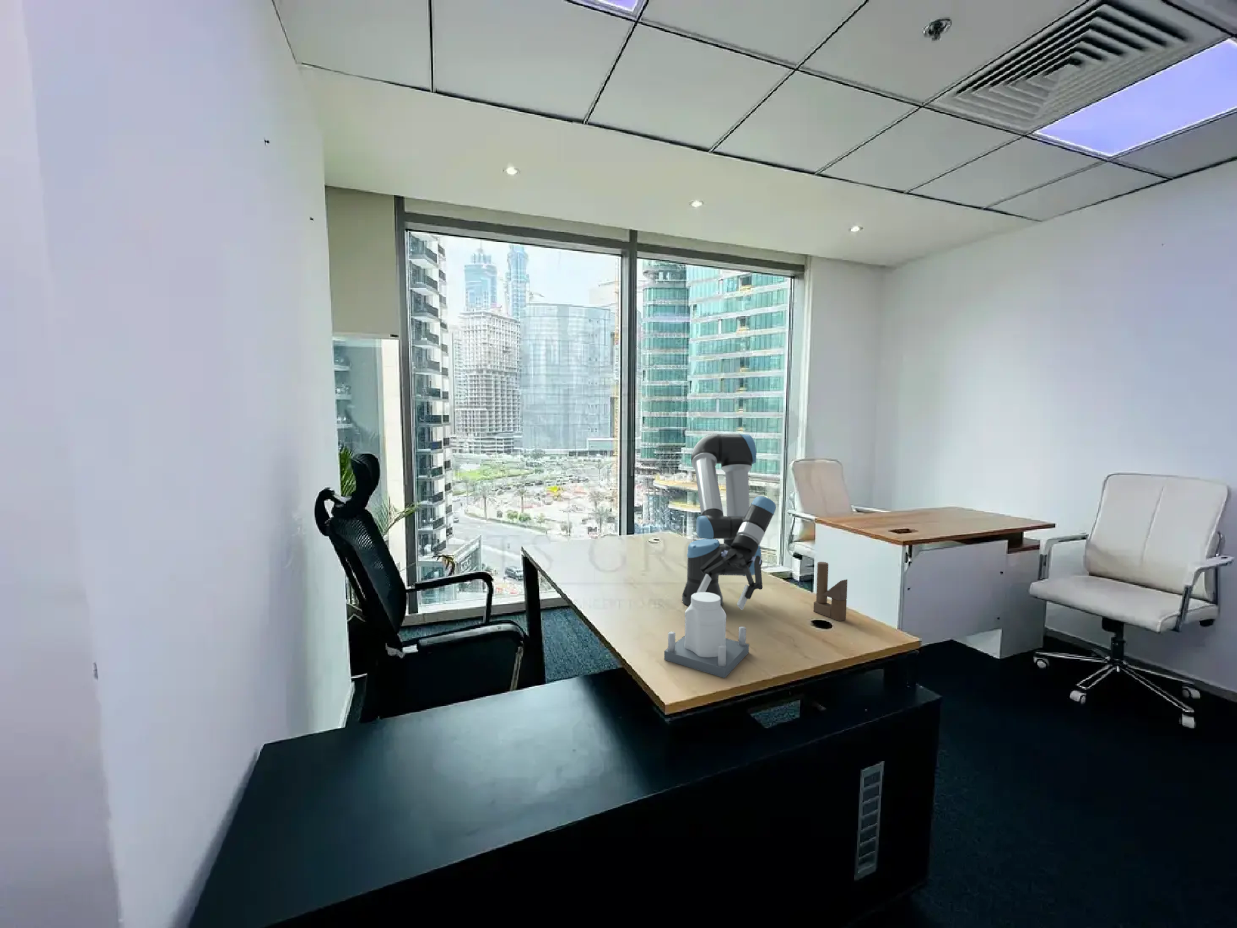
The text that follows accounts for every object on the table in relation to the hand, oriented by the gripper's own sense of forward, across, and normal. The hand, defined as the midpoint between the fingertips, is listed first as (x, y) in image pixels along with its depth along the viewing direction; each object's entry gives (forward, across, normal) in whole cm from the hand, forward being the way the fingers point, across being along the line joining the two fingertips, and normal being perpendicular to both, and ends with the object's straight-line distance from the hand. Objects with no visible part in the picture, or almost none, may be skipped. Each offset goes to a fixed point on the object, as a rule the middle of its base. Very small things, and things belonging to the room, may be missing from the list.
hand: (718, 601), depth 141 cm
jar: (+13, +1, -5) cm, 14 cm away
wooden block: (-25, -11, -49) cm, 56 cm away
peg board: (+14, +1, -8) cm, 16 cm away
